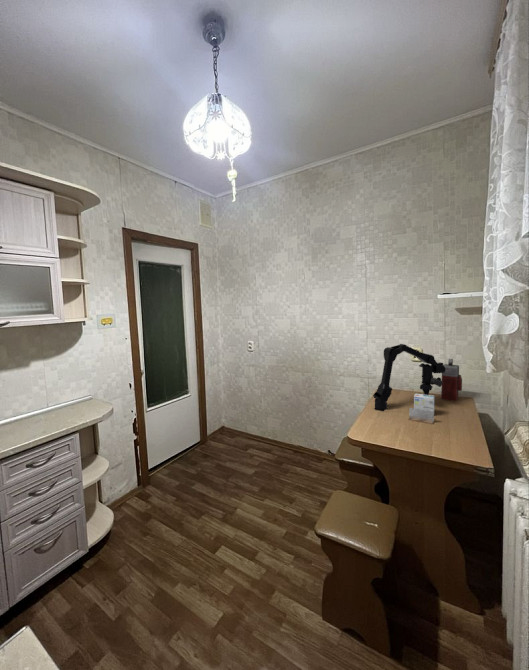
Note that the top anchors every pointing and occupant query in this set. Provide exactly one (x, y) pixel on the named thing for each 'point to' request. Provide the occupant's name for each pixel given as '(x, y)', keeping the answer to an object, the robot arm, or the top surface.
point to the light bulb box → (424, 402)
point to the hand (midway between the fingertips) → (426, 397)
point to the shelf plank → (421, 420)
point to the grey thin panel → (421, 414)
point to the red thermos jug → (451, 382)
